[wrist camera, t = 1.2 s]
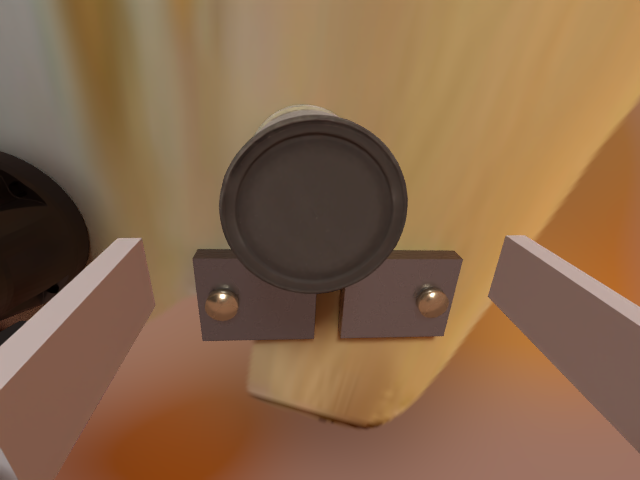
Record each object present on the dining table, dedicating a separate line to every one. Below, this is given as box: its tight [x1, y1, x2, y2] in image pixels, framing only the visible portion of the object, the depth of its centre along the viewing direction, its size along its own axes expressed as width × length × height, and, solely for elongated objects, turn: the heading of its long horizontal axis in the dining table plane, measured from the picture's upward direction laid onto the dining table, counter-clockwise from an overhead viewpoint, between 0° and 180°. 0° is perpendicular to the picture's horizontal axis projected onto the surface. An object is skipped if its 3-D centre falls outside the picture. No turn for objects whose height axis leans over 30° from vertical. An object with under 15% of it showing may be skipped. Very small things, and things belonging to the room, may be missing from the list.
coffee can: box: [219, 105, 408, 294], centre depth 25 cm, size 10×10×14 cm
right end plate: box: [338, 250, 463, 338], centre depth 36 cm, size 12×10×3 cm
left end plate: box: [193, 249, 316, 341], centre depth 35 cm, size 12×10×3 cm
